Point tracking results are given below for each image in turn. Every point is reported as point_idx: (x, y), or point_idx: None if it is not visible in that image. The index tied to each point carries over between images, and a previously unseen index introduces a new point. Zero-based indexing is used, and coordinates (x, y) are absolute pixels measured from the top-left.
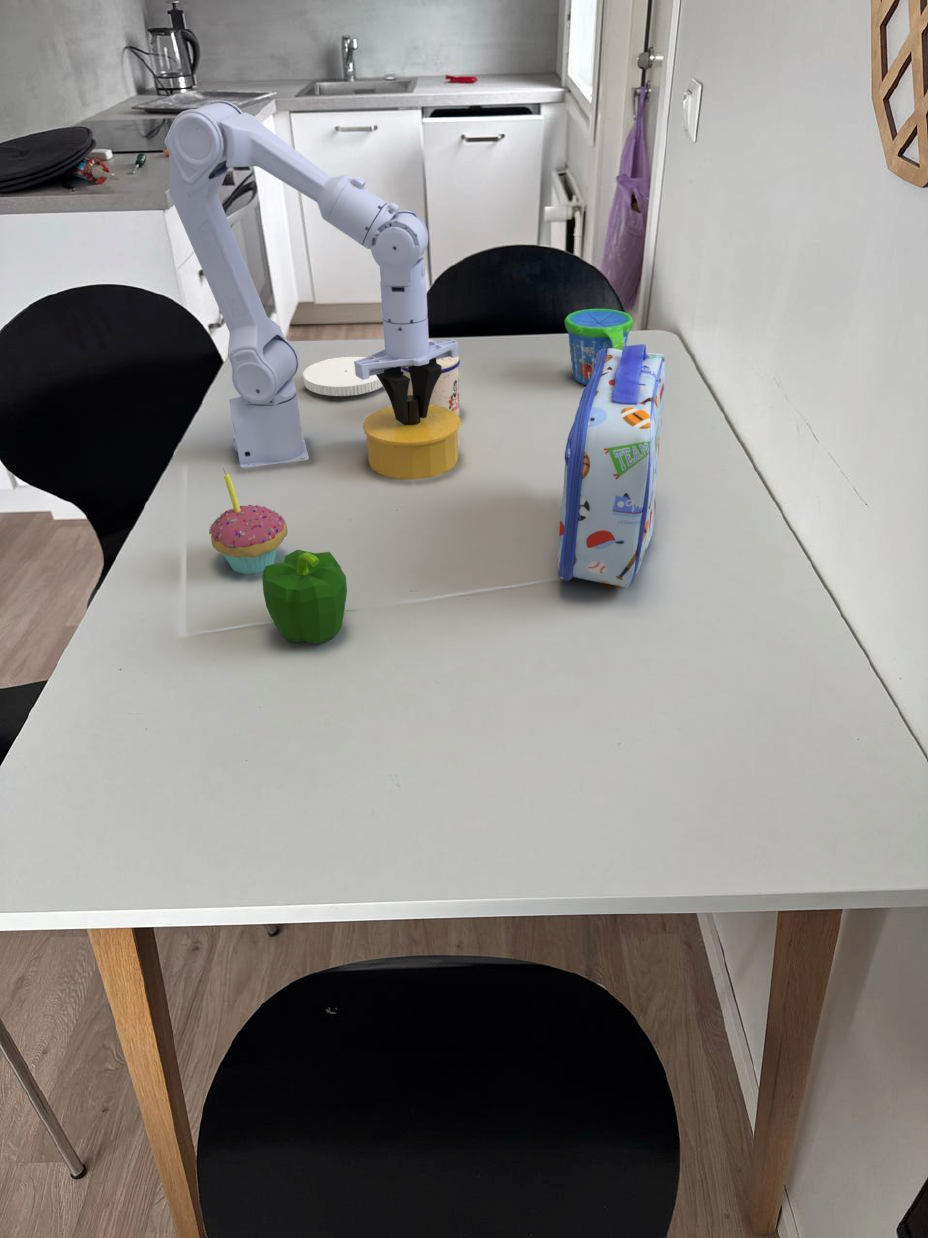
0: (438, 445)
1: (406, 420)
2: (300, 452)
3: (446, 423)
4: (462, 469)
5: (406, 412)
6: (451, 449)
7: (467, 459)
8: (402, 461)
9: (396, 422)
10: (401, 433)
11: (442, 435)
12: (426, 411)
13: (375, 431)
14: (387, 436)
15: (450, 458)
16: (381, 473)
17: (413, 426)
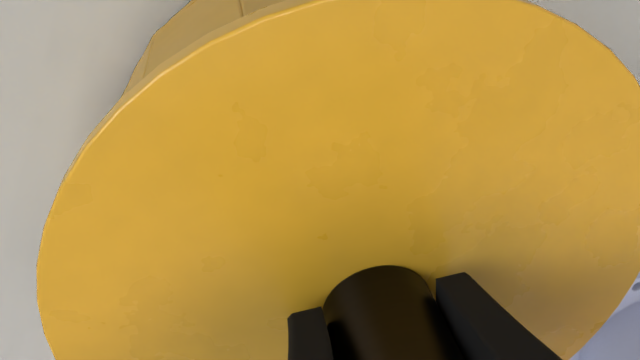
0: None
1: (454, 287)
2: (624, 315)
3: (166, 228)
4: (118, 6)
5: (487, 328)
6: (175, 52)
7: (61, 107)
8: None
9: None
10: (519, 181)
11: (278, 32)
12: (302, 344)
13: (608, 253)
14: (612, 170)
15: (190, 23)
16: None
17: (398, 249)
